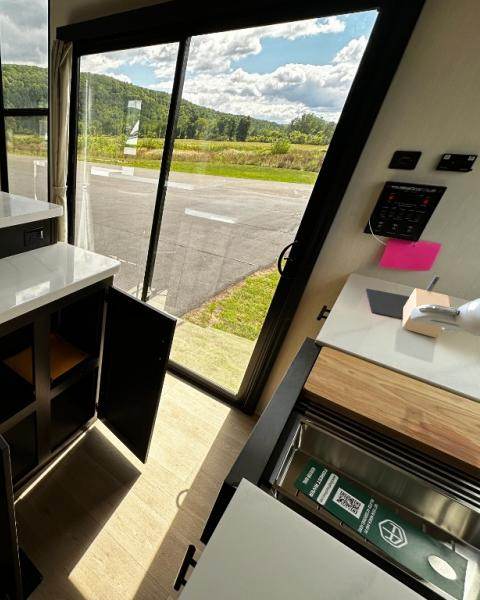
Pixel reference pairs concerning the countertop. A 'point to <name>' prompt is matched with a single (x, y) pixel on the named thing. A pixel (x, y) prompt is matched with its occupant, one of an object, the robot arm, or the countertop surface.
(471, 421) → the countertop surface
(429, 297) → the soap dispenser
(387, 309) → the mat
